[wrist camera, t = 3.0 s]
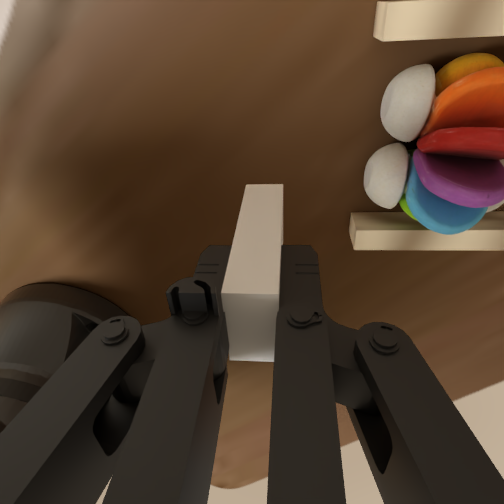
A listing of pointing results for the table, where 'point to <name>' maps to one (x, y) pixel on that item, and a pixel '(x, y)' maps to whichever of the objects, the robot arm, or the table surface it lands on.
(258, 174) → the table surface
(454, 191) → the rainbow disc toy
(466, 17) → the channel
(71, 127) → the table surface
